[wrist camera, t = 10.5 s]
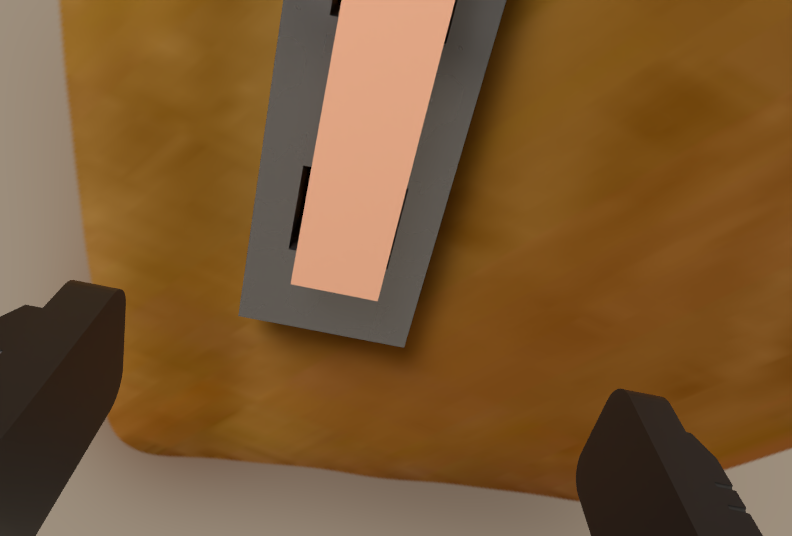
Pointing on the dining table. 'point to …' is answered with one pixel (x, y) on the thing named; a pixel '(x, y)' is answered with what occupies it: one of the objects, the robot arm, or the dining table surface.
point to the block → (367, 141)
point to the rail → (292, 154)
